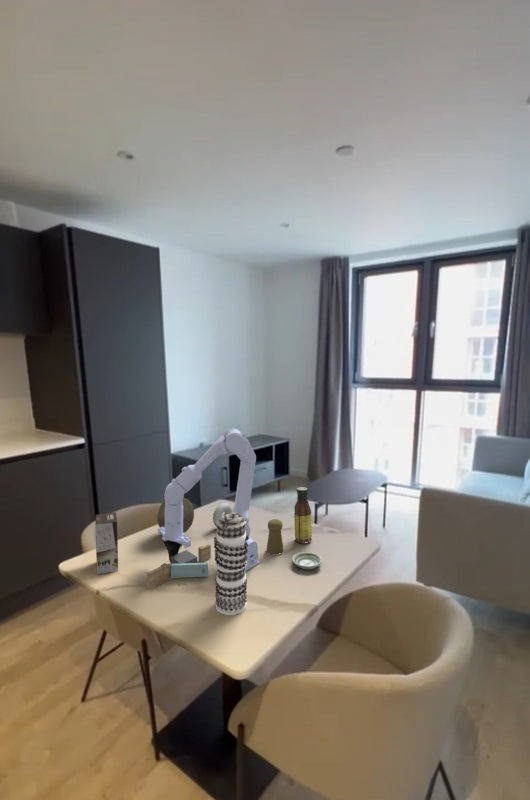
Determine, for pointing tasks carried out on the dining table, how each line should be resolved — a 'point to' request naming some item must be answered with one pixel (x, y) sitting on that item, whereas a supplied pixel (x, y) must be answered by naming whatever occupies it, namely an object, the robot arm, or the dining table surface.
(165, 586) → the dining table surface
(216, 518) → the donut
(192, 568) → the light blue bar
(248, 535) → the robot arm
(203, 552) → the tan wooden flat bar
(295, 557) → the saucer
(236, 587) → the decorative candle
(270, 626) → the dining table surface
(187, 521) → the cantaloupe
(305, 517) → the sauce bottle
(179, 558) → the doorstop
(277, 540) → the cork
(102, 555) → the coffee box
